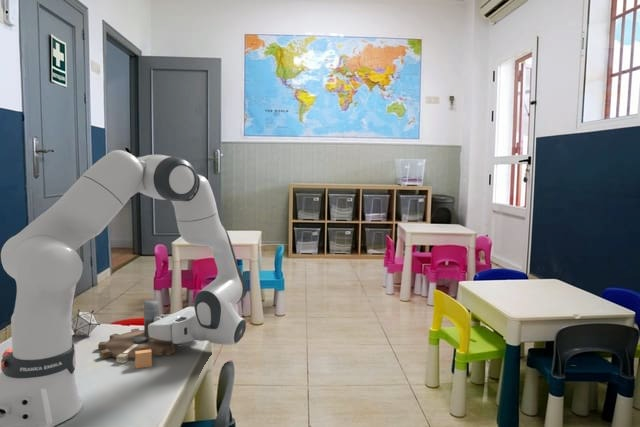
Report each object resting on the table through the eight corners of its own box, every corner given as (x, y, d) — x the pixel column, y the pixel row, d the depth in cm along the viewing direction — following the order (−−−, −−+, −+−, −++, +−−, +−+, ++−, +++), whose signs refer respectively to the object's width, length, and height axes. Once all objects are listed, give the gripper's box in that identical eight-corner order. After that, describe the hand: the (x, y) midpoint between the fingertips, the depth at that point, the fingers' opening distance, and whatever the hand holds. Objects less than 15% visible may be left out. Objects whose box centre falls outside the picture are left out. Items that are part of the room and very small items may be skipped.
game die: (90, 345, 148) (111, 318, 150) (75, 345, 140) (96, 317, 142) (71, 328, 150) (91, 302, 152) (54, 328, 142) (76, 300, 144)
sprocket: (159, 365, 126) (159, 323, 124) (81, 359, 128) (80, 318, 127) (192, 335, 148) (192, 299, 147) (125, 330, 151) (124, 295, 150)
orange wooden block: (135, 368, 124) (135, 353, 124) (135, 365, 126) (135, 351, 126) (151, 366, 126) (151, 351, 125) (151, 363, 128) (150, 349, 127)
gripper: (214, 304, 148) (178, 299, 153) (172, 324, 129) (133, 318, 134) (214, 323, 149) (178, 318, 153) (173, 346, 130) (133, 339, 134)
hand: (156, 318), depth 143 cm, fingers closed, pressing on sprocket
